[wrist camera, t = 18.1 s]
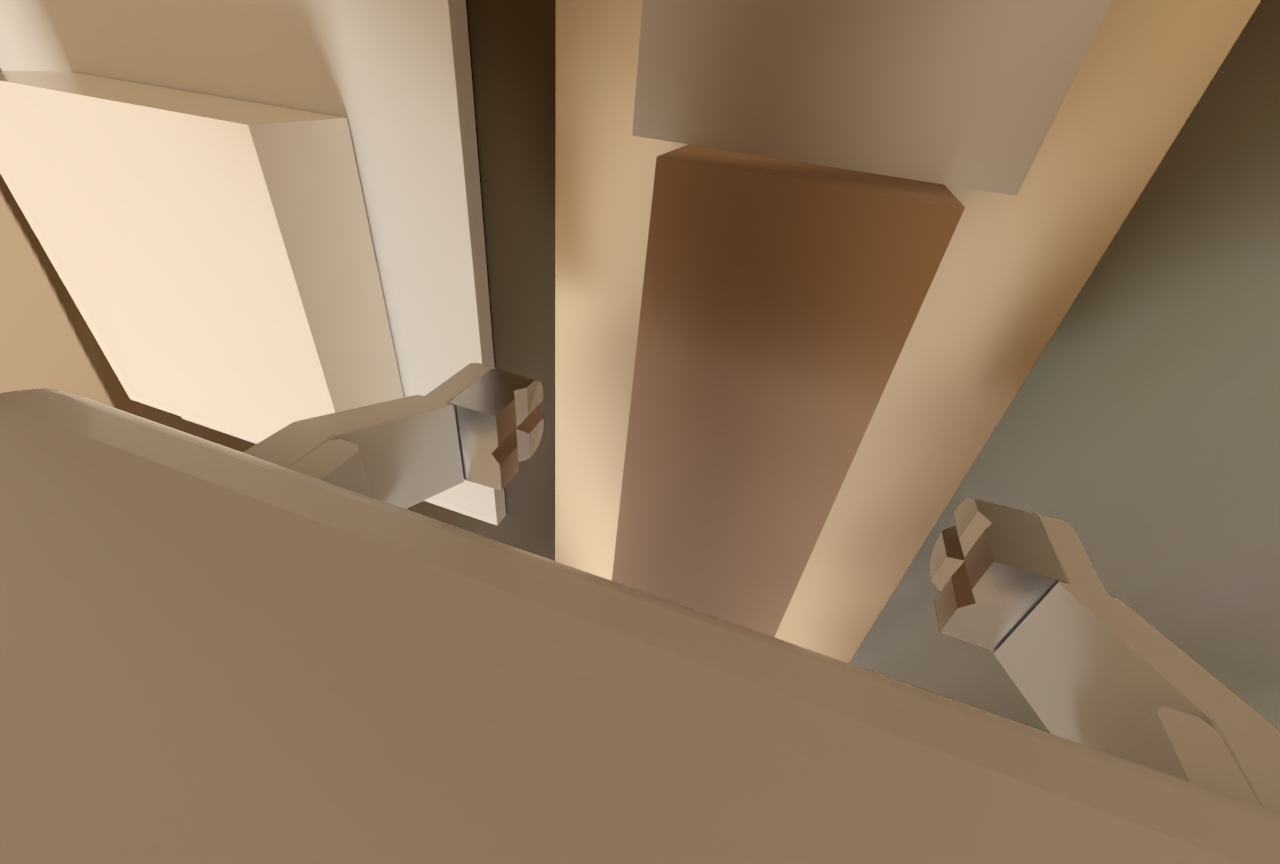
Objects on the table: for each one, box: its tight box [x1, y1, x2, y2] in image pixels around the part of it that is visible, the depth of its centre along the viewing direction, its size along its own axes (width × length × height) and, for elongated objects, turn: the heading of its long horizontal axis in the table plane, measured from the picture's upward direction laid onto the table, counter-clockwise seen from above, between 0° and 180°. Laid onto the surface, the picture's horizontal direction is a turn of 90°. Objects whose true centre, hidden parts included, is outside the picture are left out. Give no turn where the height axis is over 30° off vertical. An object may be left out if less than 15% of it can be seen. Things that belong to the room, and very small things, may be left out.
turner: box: [612, 0, 1113, 637], centre depth 9 cm, size 6×17×3 cm, turn 174°
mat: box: [0, 0, 506, 526], centre depth 15 cm, size 15×17×1 cm
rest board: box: [555, 0, 1261, 663], centre depth 11 cm, size 10×22×1 cm, turn 174°
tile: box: [0, 71, 404, 443], centre depth 15 cm, size 9×2×9 cm
